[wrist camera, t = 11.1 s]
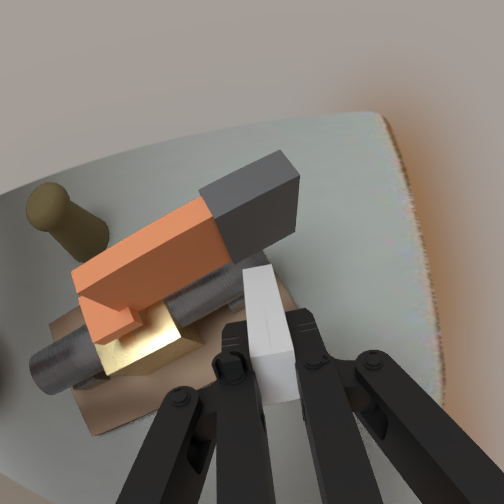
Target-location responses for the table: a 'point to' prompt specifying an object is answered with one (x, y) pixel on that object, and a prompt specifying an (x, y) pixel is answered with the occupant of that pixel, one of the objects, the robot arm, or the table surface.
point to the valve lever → (188, 245)
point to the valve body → (143, 335)
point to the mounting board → (159, 382)
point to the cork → (67, 222)
